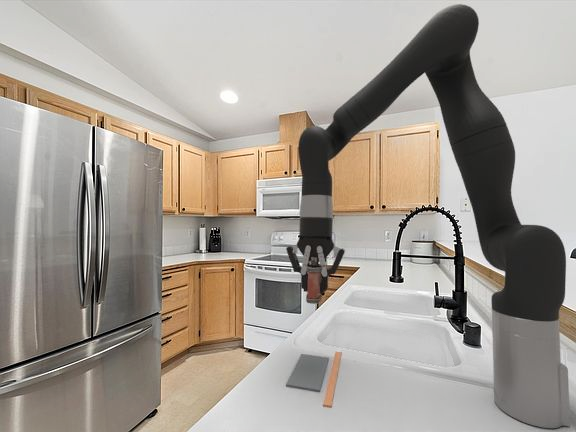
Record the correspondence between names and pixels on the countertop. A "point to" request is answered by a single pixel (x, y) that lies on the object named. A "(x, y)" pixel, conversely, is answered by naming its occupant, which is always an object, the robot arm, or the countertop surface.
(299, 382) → the mat
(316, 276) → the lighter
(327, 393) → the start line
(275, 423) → the countertop surface
